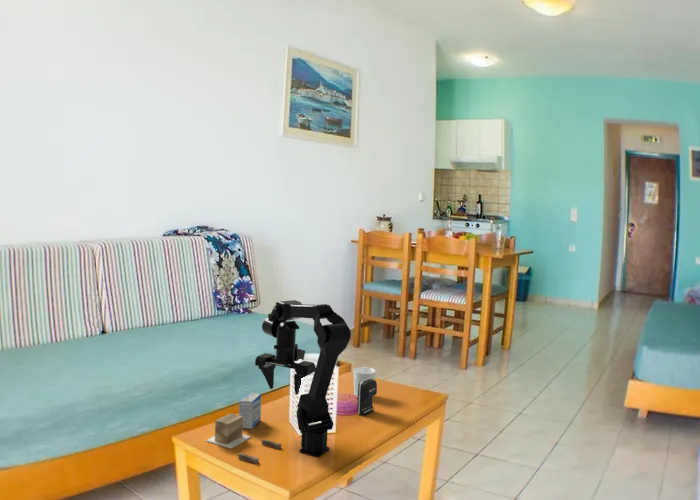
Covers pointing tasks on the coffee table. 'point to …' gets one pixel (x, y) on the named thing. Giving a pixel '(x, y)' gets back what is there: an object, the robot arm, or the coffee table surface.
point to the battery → (366, 396)
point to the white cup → (362, 376)
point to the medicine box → (250, 410)
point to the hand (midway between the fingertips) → (284, 391)
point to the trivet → (230, 445)
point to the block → (228, 428)
